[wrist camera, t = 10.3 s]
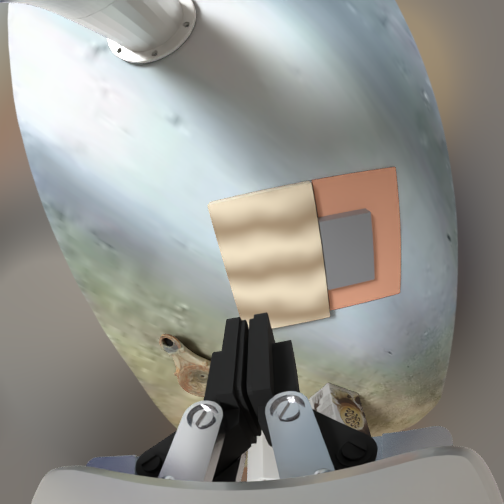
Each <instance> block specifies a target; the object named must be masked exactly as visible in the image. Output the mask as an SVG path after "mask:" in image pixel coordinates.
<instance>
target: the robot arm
mask: <svg viewBox="0 0 504 504" xmlns="http://www.w3.org/2000/svg"><path fill="white" fill-rule="evenodd" d="M0 2H4V3H22V4H28V5H33V6H36V7H40V8H43V9H46V10H48V11H51V12H54V13H56V14H58V15H61V16H63V17H65V18H67V19H69V20H71V21H73V22H76V23H78V24H80V25H82V26H84V27H86V28H88V29H90V30H92V31H94V32H96V33H98V34H100V35H102V36H104V37H106V38H107V40H108V44H109V47H110V49H111V51H112V52H113V53H114V54H115V55H116V56H117V57H119V58H121V59H122V60H125V61H127V62H131V63H149V62H153V61H156V60H159V59H161V58H163V57H165V56H168V55H169V54H171V53H172V52H174V51H175V50H177V49H178V48H179V47H180V46H181V45H182V44H183V43H184V42H185V41H186V39H187V38H188V37H189V35H190V34H191V32H192V30H193V28H194V25H195V22H196V8H195V6H194V3H193V1H192V0H0ZM187 26H188V27H187ZM121 51H122V52H121ZM157 53H158V54H157ZM156 54H157V55H156ZM155 55H156V56H155ZM262 431H263V433H264V436H265V438H266V440H267V442H268V445H270V446H271V447H272V448H273V451H274V455H275V460H276V464H277V469H278V473H279V477H280V479H277V480H265V481H248V482H241V478H242V473H243V469H244V464H245V460H246V451H247V450H248V449H249V448H250V447H251V444H256V443H257V436H261V433H262ZM31 504H504V503H503V500H502V497H501V495H500V492H499V489H498V486H497V484H496V482H495V479H494V477H493V476H492V473H491V471H490V470H489V468H488V466H487V464H486V463H485V461H484V460H483V459H482V458H481V457H480V455H479V454H478V453H477V452H475V451H474V450H472V449H470V448H466V447H460V446H453V441H452V436H451V434H450V432H449V431H448V430H447V429H446V428H444V427H441V426H433V427H428V428H422V429H416V430H409V431H402V432H394V433H386V434H382V436H378V437H370V436H369V435H367V434H365V433H363V432H360V431H358V430H356V429H354V428H351V427H349V426H347V425H345V424H343V423H340V422H338V421H336V420H334V419H332V418H330V417H328V416H326V415H324V414H322V413H320V412H318V411H316V410H314V409H312V407H311V405H310V402H309V400H308V399H307V397H306V396H304V395H303V394H302V393H300V391H299V384H298V376H297V369H296V363H295V357H294V352H293V347H292V342H291V340H289V341H284V342H278V343H275V340H274V336H273V332H272V328H271V324H270V320H269V316H268V313H267V312H266V313H261V314H255V315H254V318H252V319H249V327H248V324H247V321H246V320H242V319H241V318H240V317H237V318H231V319H227V320H226V326H225V333H224V339H223V346H222V351H219V352H213V354H212V357H211V363H210V368H209V374H208V379H207V385H206V390H205V396H204V401H200V402H197V403H194V404H193V405H191V406H190V407H189V408H188V409H187V410H186V411H185V413H184V414H183V417H182V419H181V422H180V424H179V427H178V429H177V431H175V432H174V433H172V434H171V435H170V436H168V437H167V438H165V439H164V440H162V441H161V442H159V443H158V444H157V445H155V446H153V447H152V448H150V449H149V450H147V451H146V452H144V453H143V454H142V455H141V456H140V457H137V456H136V455H126V456H111V457H96V458H93V459H91V460H90V461H89V462H88V463H87V464H86V466H65V467H59V468H56V469H53V470H51V471H49V472H48V473H47V474H46V475H45V477H44V478H43V479H42V481H41V483H40V485H39V486H38V489H37V491H36V493H35V495H34V497H33V500H32V503H31Z"/></svg>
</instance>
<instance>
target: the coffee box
mask: <svg viewBox="0 0 504 504" xmlns="http://www.w3.org/2000/svg"><path fill="white" fill-rule="evenodd" d="M309 401H310V405H311V407H312V409H314V410H316V411H318V412H320V413H322V414H324V415H326V416H328V417H330V418H332V419H334V420H336V421H338V422H340V423H343V424H345V425H347V426H349V427H351V428H354V429H356V430H358V431H360V432H363V433H365V434H367V435H369V436H370V437H371V435H370V431H369V428H368V425H367V421H366V418H365V415H364V411H363V408H362V405H361V402H360V398H359V395H358V393H356V392H353V391H350V390H347V389H344V388H341V387H339V386H336V385H333V384H330V383H327V384H326V385H325V386H324V387H323V388H321V389H320V390H319V391H318V392H317V393H315V394H314V395H313V396H312V397H311V398H309Z"/></svg>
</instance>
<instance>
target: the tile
mask: <svg viewBox="0 0 504 504" xmlns="http://www.w3.org/2000/svg"><path fill="white" fill-rule="evenodd" d="M317 219H318V225H319V232H320V238H321V245H322V252H323V260H324V268H325V276H326V284H327V288H328V290H331V289H335V288H340V287H344V286H349V285H353V284H357V283H361V282H366V281H370V280H374V279H375V273H374V249H373V233H372V221H371V212H370V211H369V210H367V209H366V208H364V209H359V210H353V211H348V212H343V213H338V214H333V215H328V216H323V217H317Z"/></svg>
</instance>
